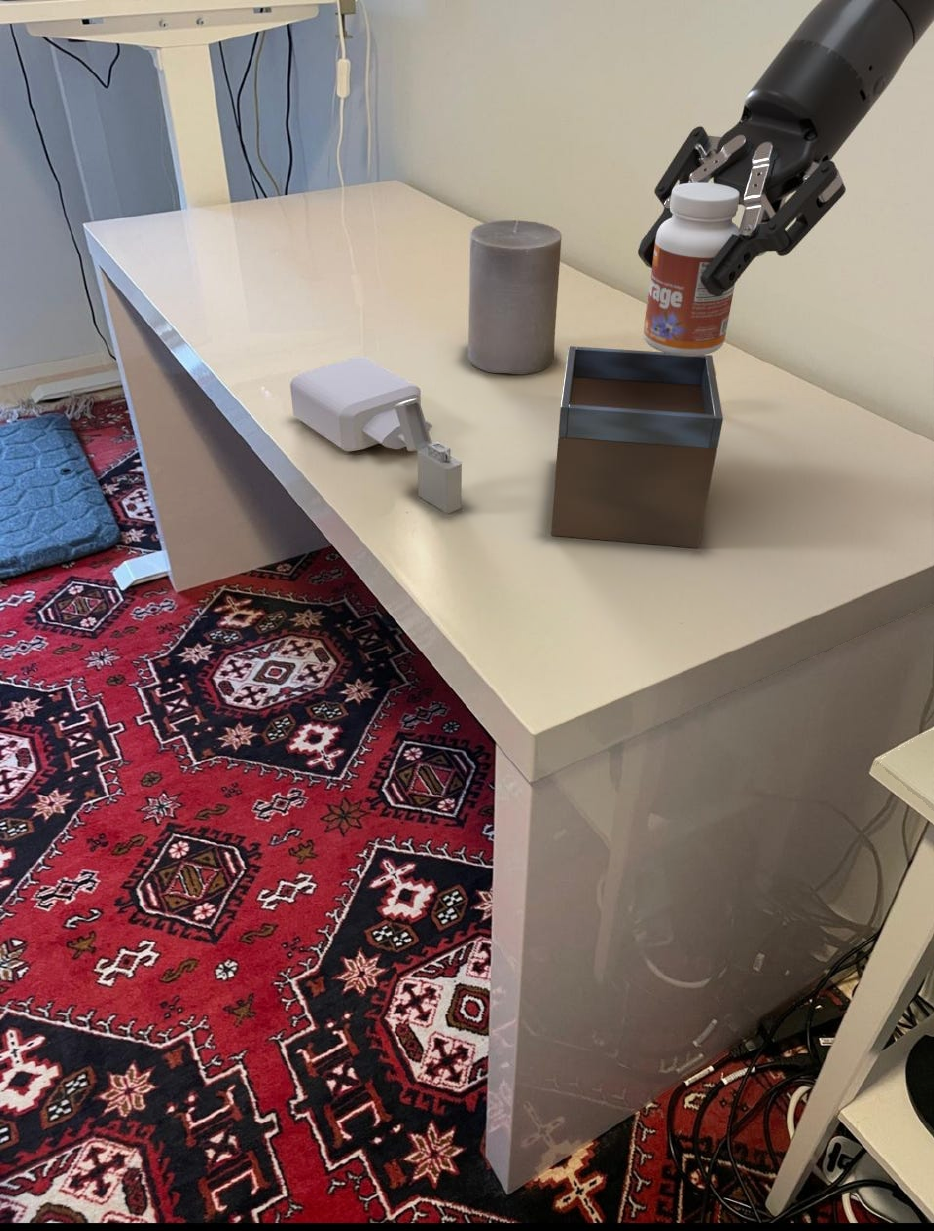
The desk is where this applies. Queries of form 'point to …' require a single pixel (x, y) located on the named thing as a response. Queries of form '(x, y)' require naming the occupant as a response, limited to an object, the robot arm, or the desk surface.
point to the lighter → (431, 460)
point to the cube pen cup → (635, 446)
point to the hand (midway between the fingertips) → (676, 274)
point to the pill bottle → (690, 271)
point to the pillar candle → (513, 296)
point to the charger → (353, 403)
